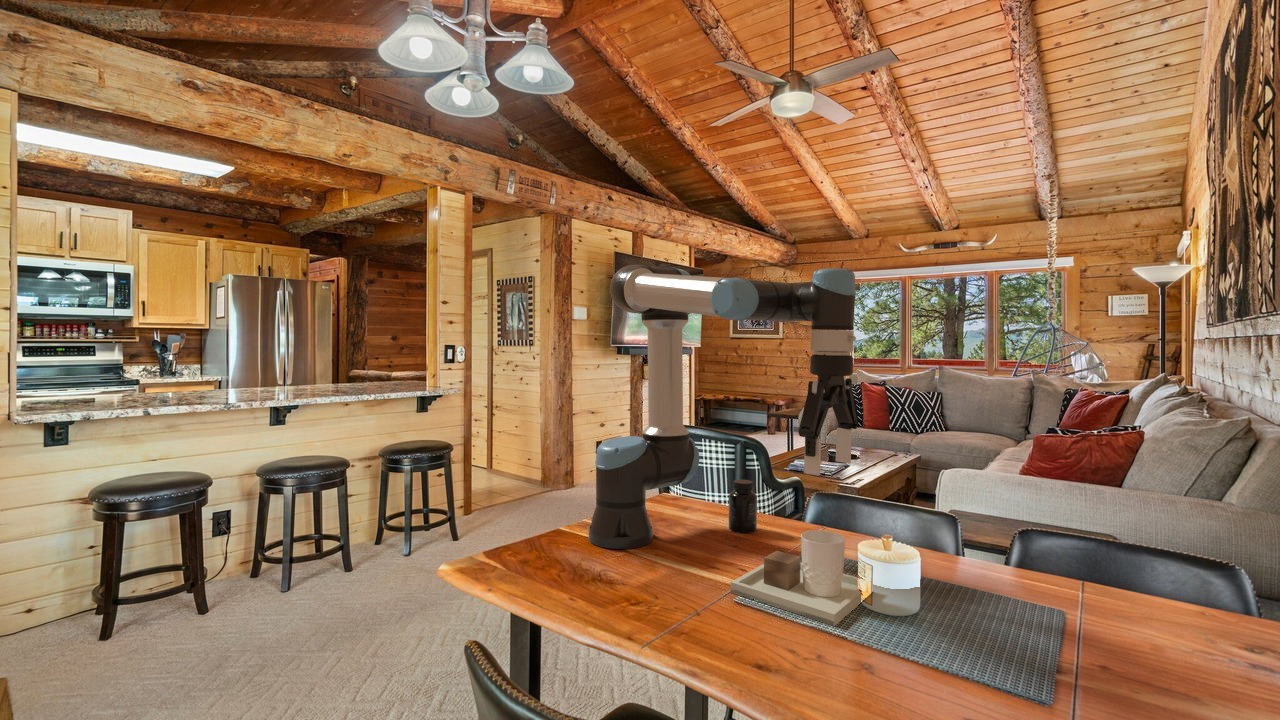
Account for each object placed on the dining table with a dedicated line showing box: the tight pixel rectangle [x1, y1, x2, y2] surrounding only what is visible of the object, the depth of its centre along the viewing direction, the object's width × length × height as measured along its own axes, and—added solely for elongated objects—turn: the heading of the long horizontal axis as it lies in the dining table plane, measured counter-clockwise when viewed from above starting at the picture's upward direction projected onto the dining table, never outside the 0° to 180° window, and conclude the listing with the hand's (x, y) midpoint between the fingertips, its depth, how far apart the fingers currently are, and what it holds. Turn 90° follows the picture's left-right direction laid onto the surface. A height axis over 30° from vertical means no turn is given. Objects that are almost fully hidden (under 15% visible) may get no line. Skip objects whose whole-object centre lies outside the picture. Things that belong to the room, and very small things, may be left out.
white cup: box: [800, 529, 846, 597], centre depth 113 cm, size 8×8×10 cm
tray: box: [730, 561, 862, 627], centre depth 114 cm, size 20×18×2 cm
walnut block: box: [763, 550, 802, 591], centre depth 116 cm, size 5×5×5 cm
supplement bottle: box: [728, 479, 758, 535], centre depth 151 cm, size 7×7×12 cm
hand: (828, 468), depth 113 cm, fingers open, 13 cm apart
